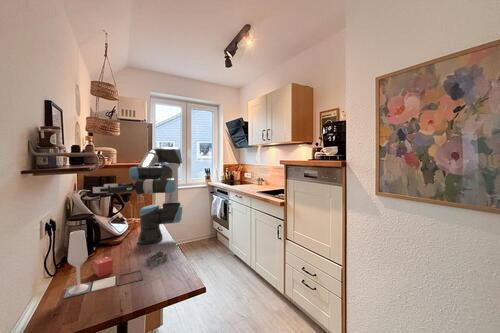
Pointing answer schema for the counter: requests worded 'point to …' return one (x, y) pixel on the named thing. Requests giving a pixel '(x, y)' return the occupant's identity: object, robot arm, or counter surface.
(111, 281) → the game track
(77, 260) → the champagne flute
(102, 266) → the red die
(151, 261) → the egg carton
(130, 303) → the counter surface
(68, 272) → the counter surface
